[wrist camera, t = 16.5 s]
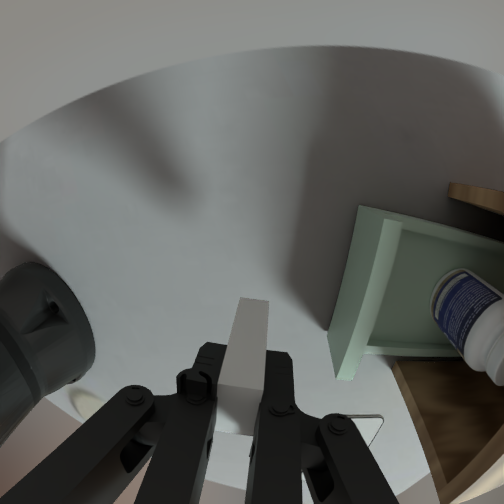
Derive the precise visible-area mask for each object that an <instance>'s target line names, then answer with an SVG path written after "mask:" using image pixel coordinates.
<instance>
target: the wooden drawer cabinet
mask: <svg viewBox="0 0 504 504" xmlns="http://www.w3.org/2000/svg"><path fill="white" fill-rule="evenodd" d="M448 197H451V198H454V199H457V200H460V201H463V202H466V203H469V204H472V205H474V206H477V207H480V208H483V209H486V210H488V211H491V212H494V213H496V214H499V215H501V216H504V192H501V191H496V190H491V189H486V188H481V187H475V186H470V185H464V184H458V183H451V182H450V185H449V191H448ZM392 373H393V375H394V377H395V379H396V382H397V384H398V386H399V389H400V391H401V394H402V396H403V398H404V401H405V403H406V406H407V408H408V411H409V413H410V416H411V418H412V421H413V424H414V426H415V429H416V432H417V434H418V437H419V440H420V442H421V445H422V448H423V451H424V454H425V457H426V459H427V462H428V465H429V468H430V471H431V474H432V478H433V481H434V484H435V487H436V490H437V494H438V497H439V501H440V504H459V503H461V502H464V501H467V500H469V499H472V498H474V497H476V496H479V495H481V494H484V493H486V492H488V491H490V490H492V489H494V488H496V487H499V486H501V485H503V484H504V386H498V385H496V384H495V383H494V382H493V380H492V379H491V378H490V377H489V376H488V374H487V372H486V371H476V370H473V369H472V368H471V367H470V366H469V365H468V364H467V363H466V362H465V361H440V362H434V361H396V362H395V364H394V366H393V368H392Z"/></svg>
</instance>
